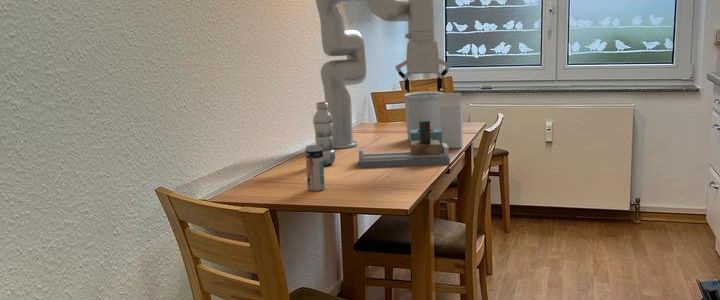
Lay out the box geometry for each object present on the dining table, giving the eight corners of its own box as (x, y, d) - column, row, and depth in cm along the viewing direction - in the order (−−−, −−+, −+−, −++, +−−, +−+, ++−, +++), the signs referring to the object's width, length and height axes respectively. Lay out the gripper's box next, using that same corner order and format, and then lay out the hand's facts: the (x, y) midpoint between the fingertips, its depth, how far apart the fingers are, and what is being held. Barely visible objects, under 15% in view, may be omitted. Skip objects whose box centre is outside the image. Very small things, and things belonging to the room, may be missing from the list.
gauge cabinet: (411, 157, 234) (411, 133, 232) (410, 152, 242) (409, 129, 240) (442, 155, 233) (441, 131, 232) (440, 151, 242) (439, 128, 240)
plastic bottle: (338, 162, 230) (335, 101, 227) (331, 167, 224) (327, 103, 220) (320, 162, 232) (316, 101, 229) (312, 166, 226) (308, 104, 222)
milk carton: (461, 148, 246) (460, 93, 243) (440, 148, 248) (439, 94, 244) (462, 145, 253) (461, 91, 250) (442, 145, 254) (441, 92, 251)
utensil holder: (435, 143, 259) (434, 95, 256) (399, 141, 267) (397, 95, 264) (451, 137, 272) (450, 91, 269) (416, 136, 279) (414, 91, 276)
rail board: (359, 168, 220) (358, 152, 219) (360, 160, 232) (359, 145, 231) (449, 164, 219) (449, 148, 218) (446, 157, 231) (445, 142, 230)
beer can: (307, 188, 195) (304, 145, 193) (324, 187, 195) (322, 144, 193) (307, 192, 190) (304, 148, 188) (325, 191, 190) (322, 147, 188)
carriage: (411, 155, 220) (410, 123, 218) (410, 150, 229) (409, 119, 227) (441, 153, 220) (440, 121, 218) (438, 149, 229) (437, 118, 227)
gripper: (394, 38, 218) (396, 93, 221) (450, 36, 218) (451, 91, 221) (394, 37, 226) (396, 91, 229) (448, 35, 225) (449, 89, 228)
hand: (423, 91), depth 225 cm, fingers open, 9 cm apart
